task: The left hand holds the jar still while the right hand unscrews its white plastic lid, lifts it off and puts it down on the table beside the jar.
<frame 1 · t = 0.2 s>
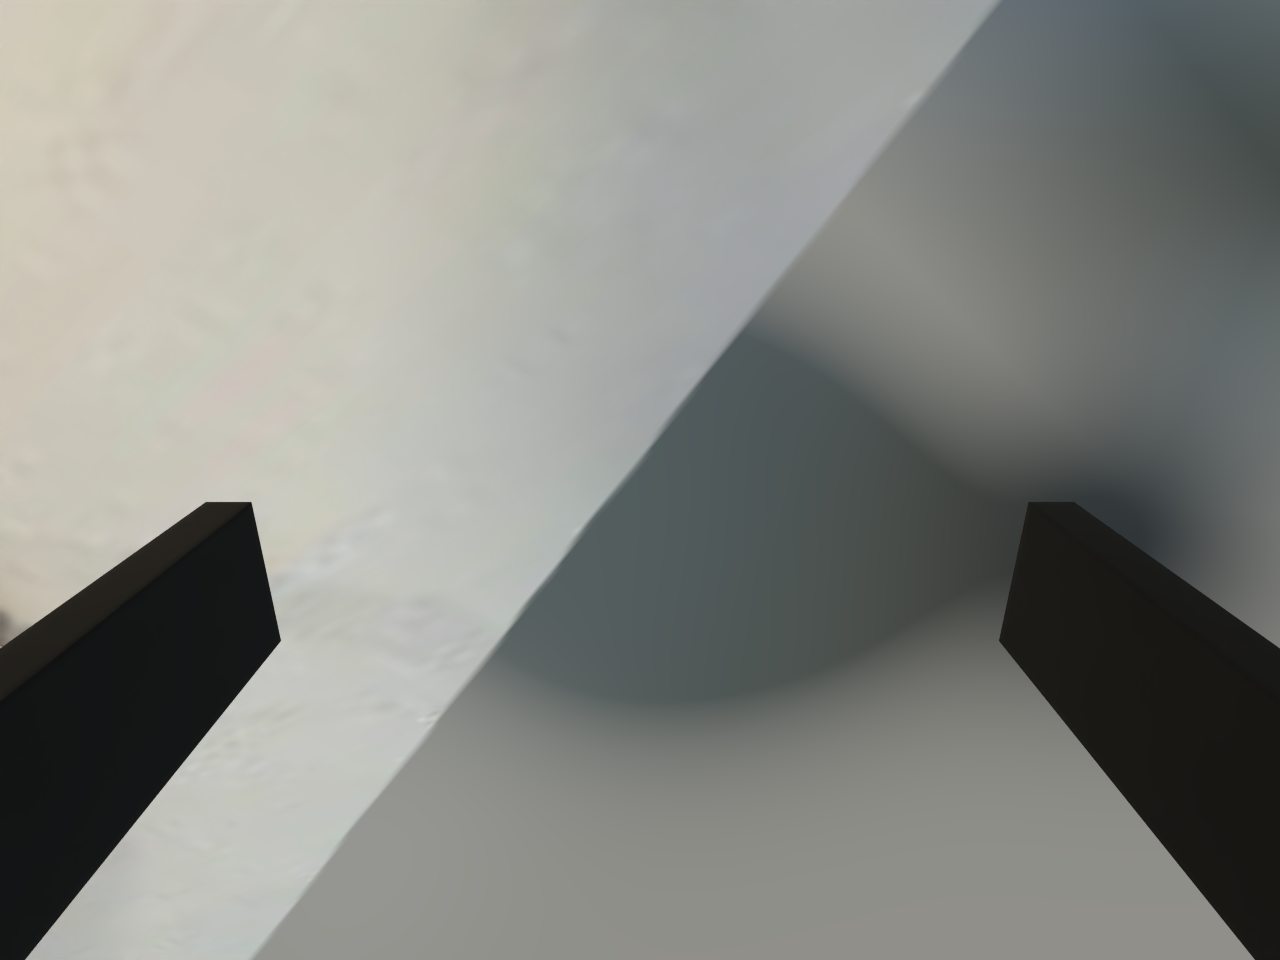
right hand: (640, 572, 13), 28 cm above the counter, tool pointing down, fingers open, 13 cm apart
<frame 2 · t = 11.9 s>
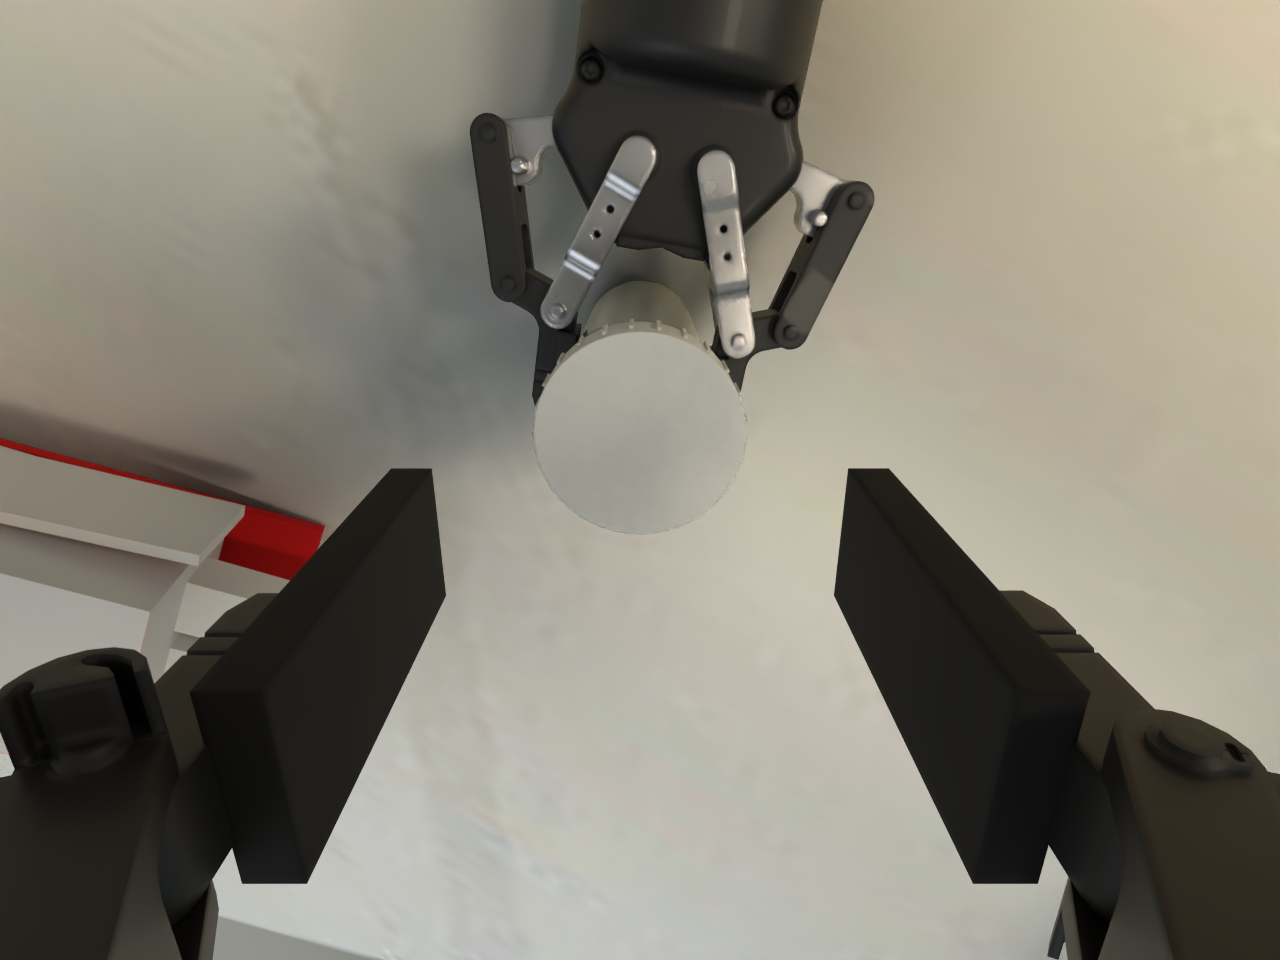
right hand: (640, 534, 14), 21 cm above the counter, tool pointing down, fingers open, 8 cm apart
left hand: (629, 431, 28), fingers closed on jar, 5 cm apart
toy: (91, 512, 37), on the counter
lid: (639, 434, 20), point 15 cm above the counter, screwed on, not yet turned
jar: (640, 335, 34), on the counter, touching left hand
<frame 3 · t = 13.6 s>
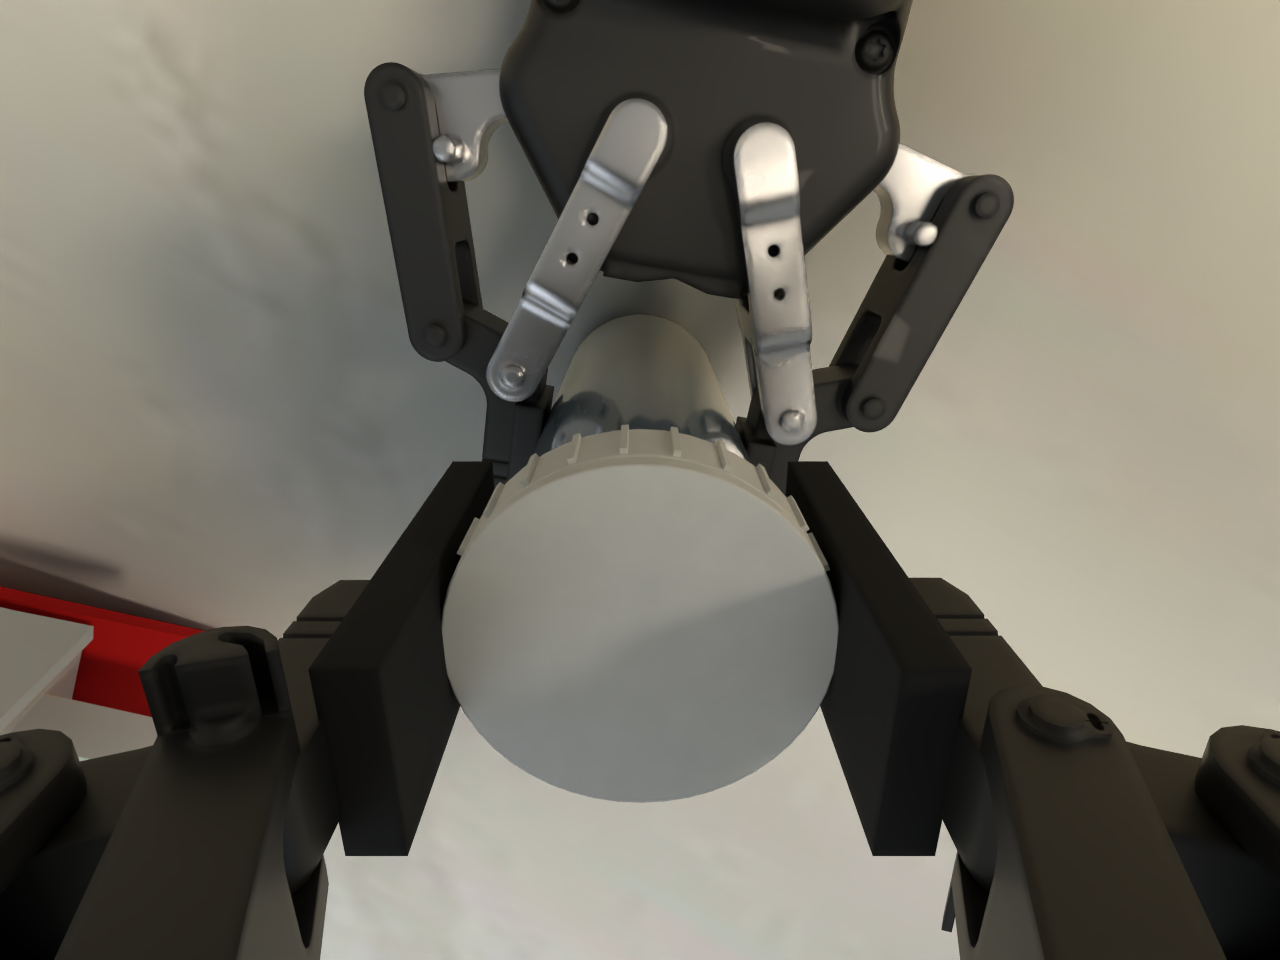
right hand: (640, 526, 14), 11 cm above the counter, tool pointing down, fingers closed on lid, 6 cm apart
left hand: (625, 541, 19), fingers closed on jar, 5 cm apart
lid: (640, 637, 11), point 15 cm above the counter, screwed on, not yet turned, touching right hand
jar: (640, 388, 24), on the counter, touching left hand
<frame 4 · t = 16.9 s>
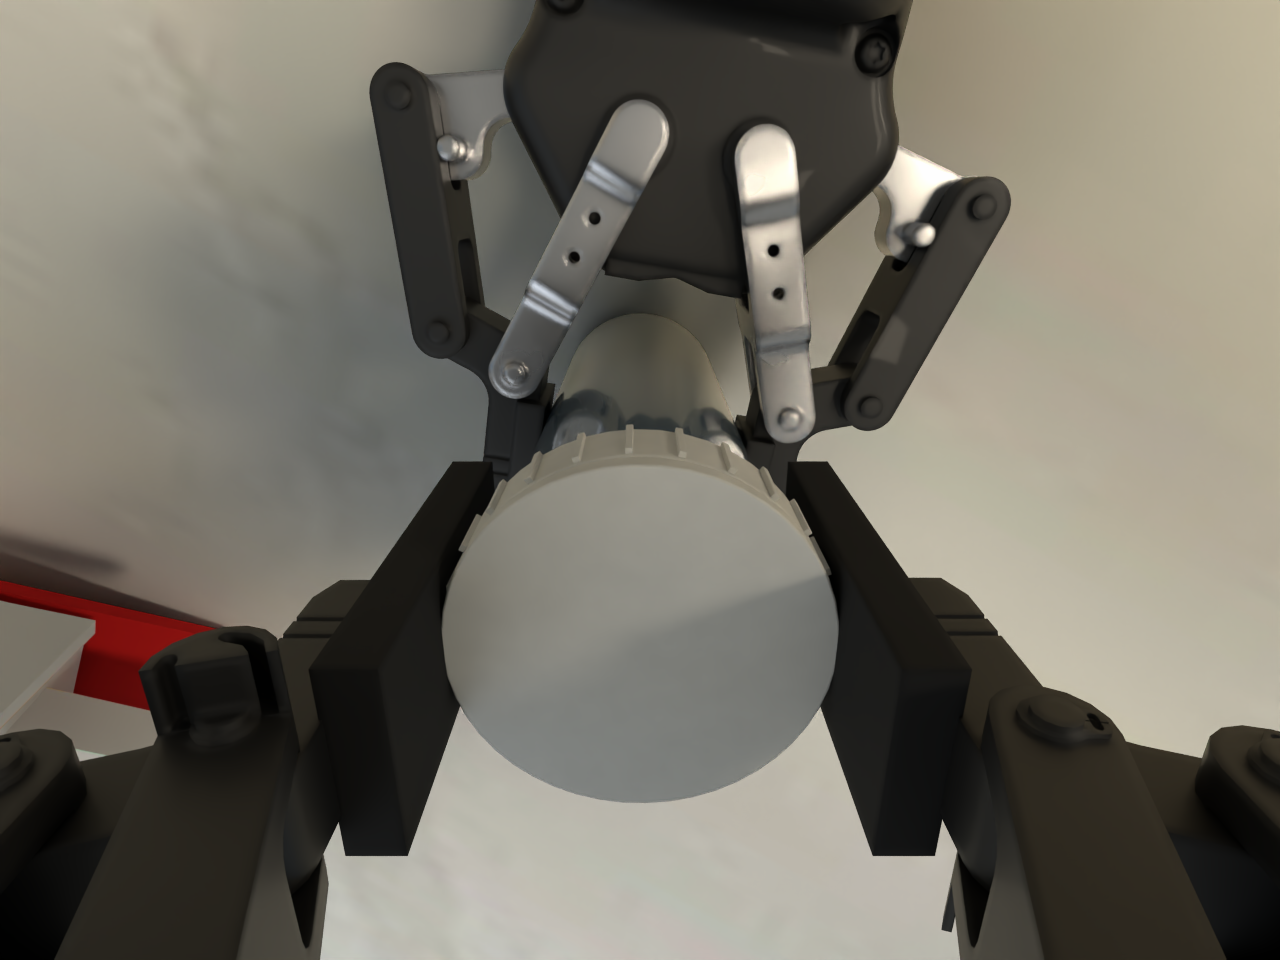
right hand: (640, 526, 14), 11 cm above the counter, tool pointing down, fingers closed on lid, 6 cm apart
left hand: (625, 538, 20), fingers closed on jar, 5 cm apart
lid: (640, 637, 11), point 15 cm above the counter, turned 114° so far, risen 0.2 cm, still on its thread, touching right hand
jar: (640, 386, 25), on the counter, touching left hand
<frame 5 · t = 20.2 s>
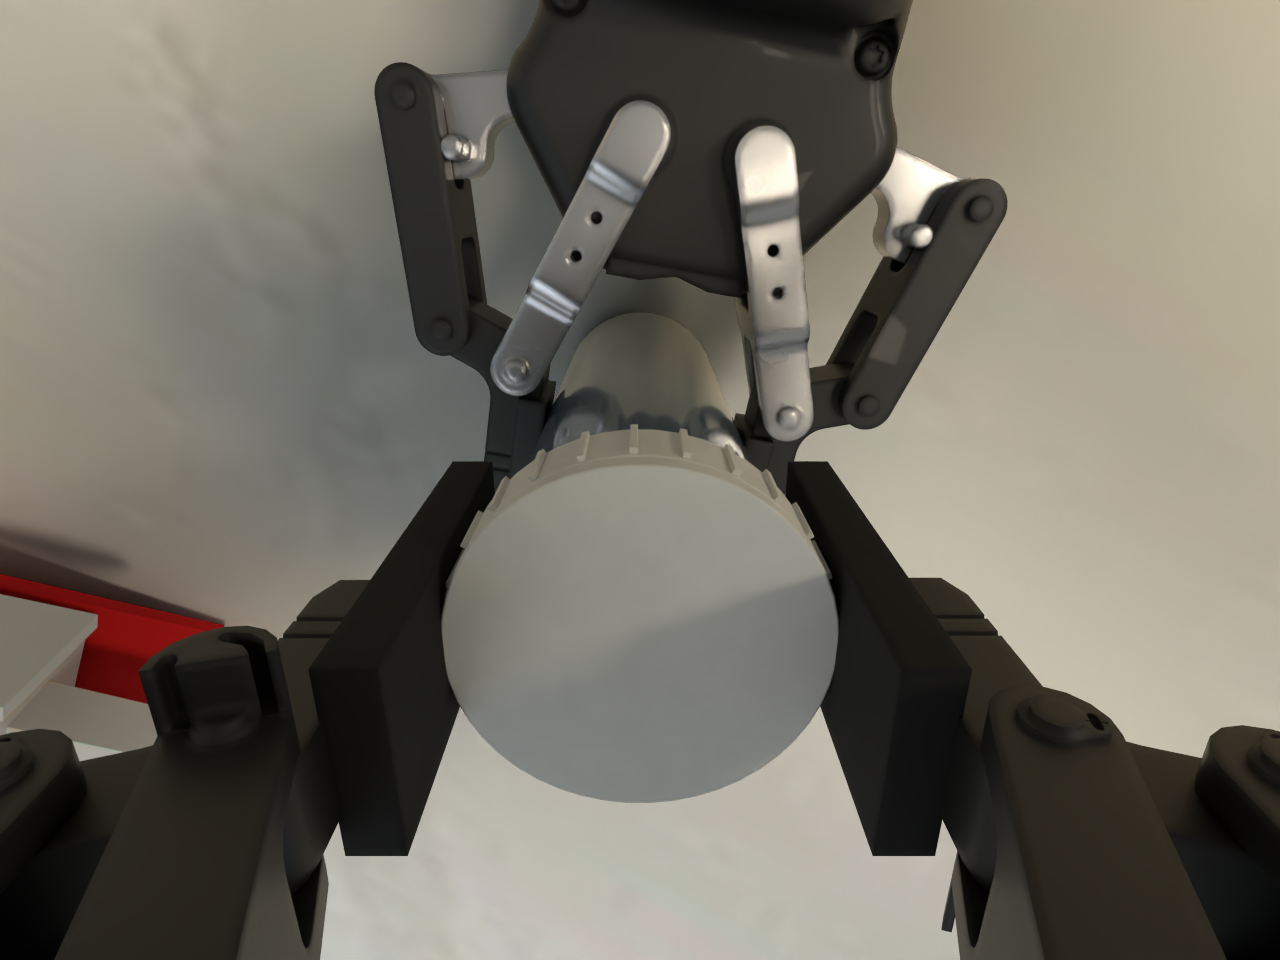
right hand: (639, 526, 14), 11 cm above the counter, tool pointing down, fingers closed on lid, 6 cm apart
left hand: (624, 535, 20), fingers closed on jar, 5 cm apart
lid: (639, 637, 11), point 15 cm above the counter, turned 228° so far, risen 0.4 cm, still on its thread, touching right hand
jar: (640, 385, 25), on the counter, touching left hand
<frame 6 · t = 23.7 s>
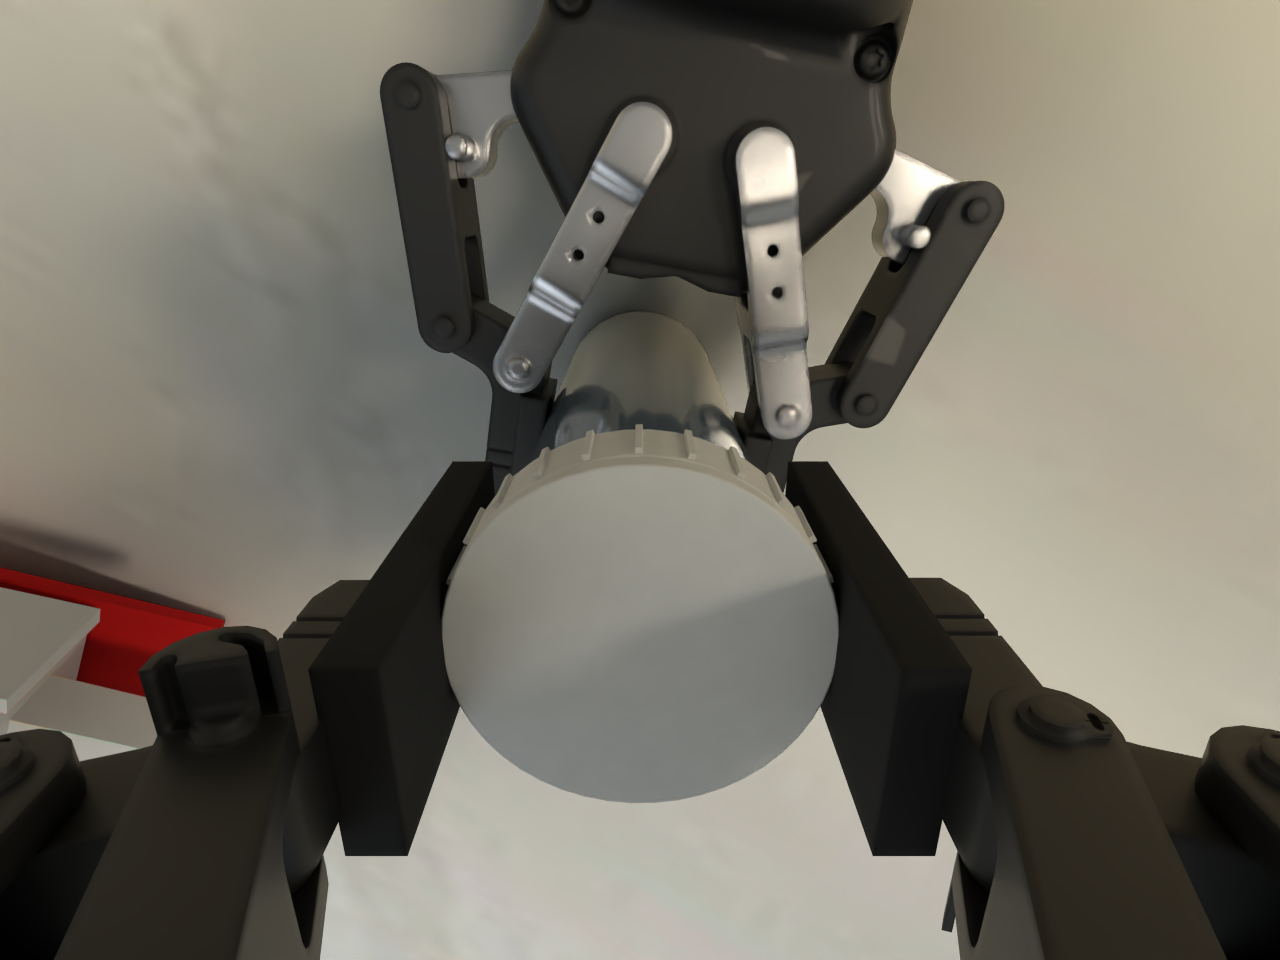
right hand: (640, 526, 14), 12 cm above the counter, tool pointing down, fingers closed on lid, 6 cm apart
left hand: (624, 532, 20), fingers closed on jar, 5 cm apart
lid: (640, 637, 11), point 15 cm above the counter, turned 342° so far, risen 0.6 cm, still on its thread, touching right hand
jar: (640, 383, 25), on the counter, touching left hand
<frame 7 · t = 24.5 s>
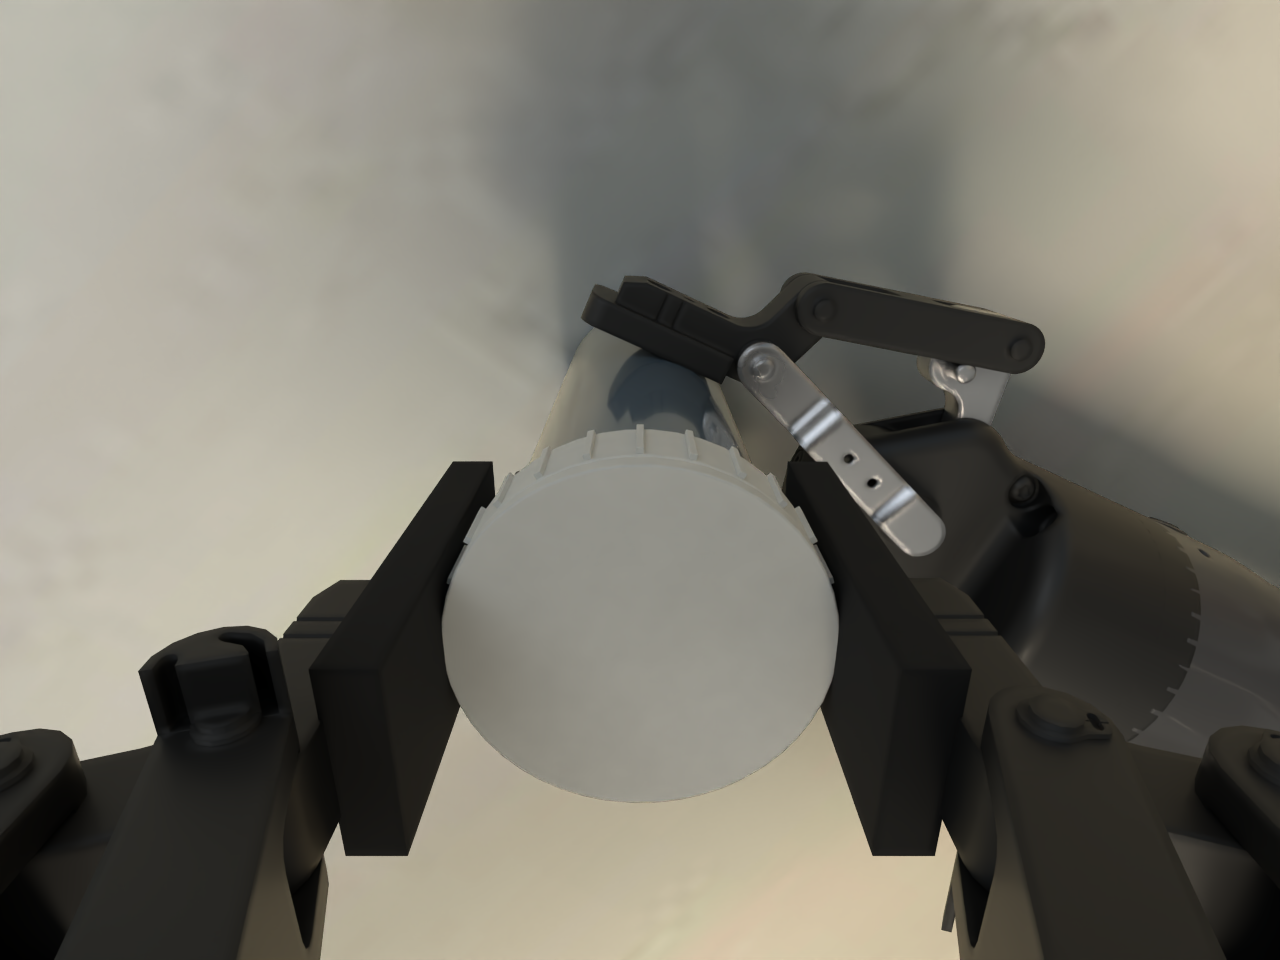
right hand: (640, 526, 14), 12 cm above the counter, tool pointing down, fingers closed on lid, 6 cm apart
lid: (640, 637, 11), point 15 cm above the counter, off its thread, touching right hand
jar: (640, 382, 25), on the counter, touching left hand
when the right hand's fingers open (0 cm above the counter, at t = 30.5 s): lid drops 3 cm, point 1 cm above the counter.
when the left hand's fingers open (6 cm above the counter, at t = 31.6 s): jar stays where it is, on the counter.
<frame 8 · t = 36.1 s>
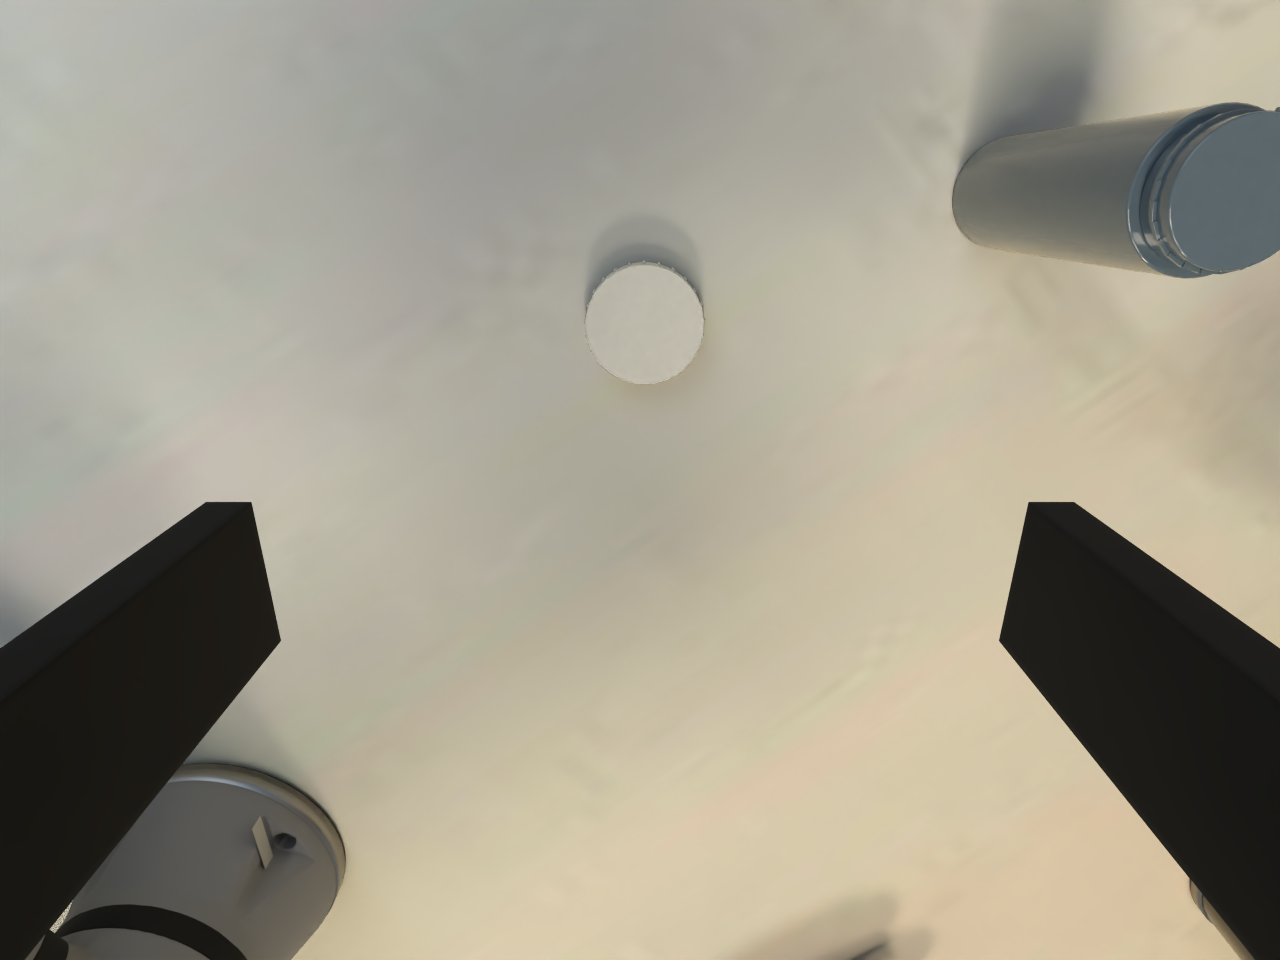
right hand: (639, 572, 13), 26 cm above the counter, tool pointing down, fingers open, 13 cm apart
lid: (644, 325, 35), point 1 cm above the counter, off its thread
jar: (1004, 193, 34), on the counter
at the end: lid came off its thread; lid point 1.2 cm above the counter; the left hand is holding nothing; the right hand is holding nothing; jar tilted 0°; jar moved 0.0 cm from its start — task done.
